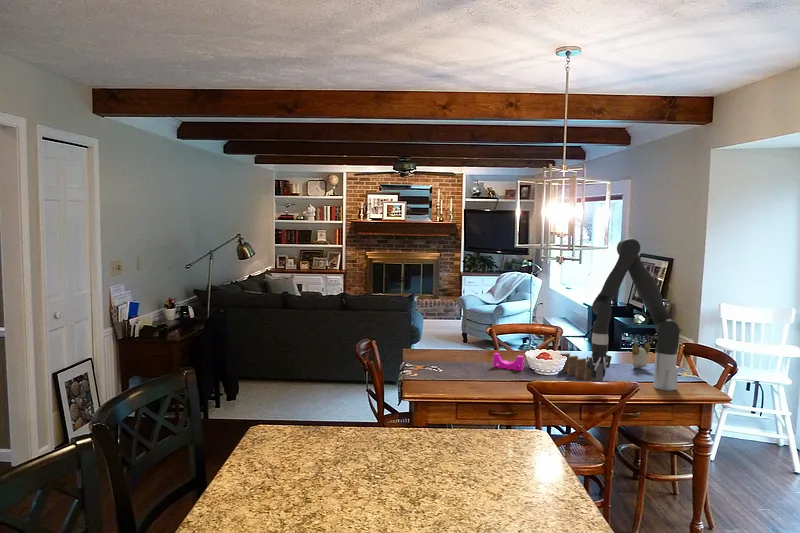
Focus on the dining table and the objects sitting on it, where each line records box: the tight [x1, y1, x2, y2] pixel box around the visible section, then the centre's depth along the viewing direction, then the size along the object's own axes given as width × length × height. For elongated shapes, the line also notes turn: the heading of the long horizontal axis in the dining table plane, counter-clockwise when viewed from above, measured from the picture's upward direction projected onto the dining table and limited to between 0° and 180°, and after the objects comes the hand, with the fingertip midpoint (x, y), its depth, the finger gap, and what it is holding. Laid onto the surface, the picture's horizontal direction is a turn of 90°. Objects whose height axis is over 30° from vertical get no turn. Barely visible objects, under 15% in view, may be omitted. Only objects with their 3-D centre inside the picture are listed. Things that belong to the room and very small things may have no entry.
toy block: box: [493, 352, 525, 372], centre depth 303 cm, size 15×6×8 cm, turn 67°
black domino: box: [593, 362, 604, 382], centre depth 274 cm, size 2×5×10 cm, turn 114°
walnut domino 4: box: [583, 360, 594, 382], centre depth 279 cm, size 2×5×10 cm, turn 114°
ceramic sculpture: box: [631, 341, 651, 369], centre depth 307 cm, size 11×9×15 cm
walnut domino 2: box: [566, 355, 579, 377], centre depth 290 cm, size 2×5×10 cm, turn 115°
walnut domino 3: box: [575, 357, 587, 380], centre depth 285 cm, size 2×5×10 cm, turn 115°
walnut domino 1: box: [559, 352, 571, 374], centre depth 296 cm, size 2×5×10 cm, turn 115°
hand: (598, 376), depth 274 cm, fingers closed on black domino, 5 cm apart
